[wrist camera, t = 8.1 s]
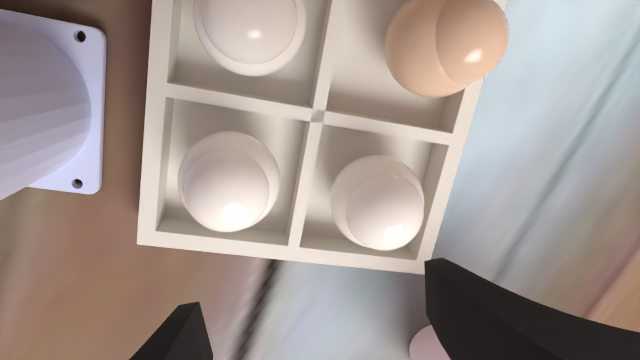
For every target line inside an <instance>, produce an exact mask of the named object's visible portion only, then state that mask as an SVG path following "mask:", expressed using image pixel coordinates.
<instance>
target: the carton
mask: <svg viewBox="0 0 640 360" xmlns="http://www.w3.org/2000/svg"><path fill="white" fill-rule="evenodd" d="M304 1H305V5H306V10H307V29H306V34H305V38H304V40H303V43H302V45H301V47H300V49H299V51H298V53H297V54H296V55H295V57H294V58H293V59H292V60H291V61H290V62H289V63H288V64H287V65H286V66H284V67H283V68H281V69H280V70H278V71H276V72H273V73H271V74H267V75H263V76H245V75H241V74H237V73H234V72H232V71H229V70H228V69H226V68H224V67H222V66H221V65H220V64H218V63H217V62H216V61H215V60H214V59H213V58H212V57H211V56H210V55H209V54H208V53H207V52H206V50H205V49H204V47H203V46H202V44H201V42H200V40H199V38H198V35H197V32H196V30H195V25H194V19H193V3H194V0H152V15H151V31H150V46H149V62H148V78H147V93H146V109H145V124H144V140H143V156H142V171H141V187H140V203H139V218H138V234H137V244H139V245H149V246H158V247H168V248H177V249H187V250H196V251H205V252H215V253H224V254H234V255H243V256H252V257H262V258H271V259H281V260H290V261H300V262H309V263H318V264H328V265H337V266H347V267H356V268H366V269H375V270H384V271H394V272H403V273H413V274H422V275H425V267H424V261H427V260H431V257H432V253H433V250H434V247H435V243H436V240H437V236H438V233H439V230H440V226H441V223H442V220H443V216H444V213H445V209H446V206H447V203H448V199H449V196H450V192H451V189H452V186H453V182H454V179H455V176H456V172H457V169H458V165H459V162H460V159H461V155H462V152H463V148H464V145H465V142H466V138H467V135H468V132H469V128H470V125H471V121H472V118H473V115H474V111H475V108H476V105H477V101H478V98H479V94H480V91H481V88H482V84H483V81H484V77H485V76H484V77H483V78H481V79H479V80H477V81H474V82H472V83H471V84H470V85H469V86H467V87H466V88H464V89H463V90H461V91H459V92H457V93H455V94H452V95H449V96H445V97H439V98H428V97H422V96H418V95H416V94H413V93H411V92H409V91H407V90H406V89H404V88H403V87H402V86H400V84H399V83H398V82H397V81H396V80H395V79H394V78H393V76H392V75H391V73H390V71H389V68H388V66H387V63H386V59H385V53H384V44H385V37H386V32H387V29H388V27H389V24H390V22H391V20H392V18H393V16H394V15H395V14H396V12H397V11H398V10H399V8H400V7H401V6H402V5H403V4H404V3H405V2H407V1H408V0H304ZM494 1H495V2H496V3H497V4H498V5H499V6H500V7H501V8H502V10H503V11H504V10H505V6H506V3H507V0H494ZM222 131H235V132H241V133H245V134H247V135H250V136H252V137H254V138H256V139H257V140H259V141H260V142H262V143H263V144H264V145H265V146H266V147H267V148H268V149H269V150H270V152H271V153H272V155H273V156H274V158H275V160H276V162H277V165H278V168H279V172H280V190H279V194H278V197H277V200H276V202H275V204H274V206H273V208H272V209H271V210H270V212H269V213H268V214H267V215H266V216H265V217H264V218H263V219H262V220H261V221H259V222H258V223H256V224H254V225H253V226H251V227H248V228H246V229H242V230H239V231H234V232H218V231H214V230H211V229H209V228H206V227H205V226H203V225H201V224H200V223H199V222H197V221H196V220H195V219H194V218H193V217H192V216H191V215H190V213H189V212H188V211H187V210H186V208H185V206H184V205H183V203H182V200H181V198H180V195H179V191H178V185H177V183H178V171H179V167H180V164H181V162H182V160H183V158H184V156H185V154H186V153H187V151H188V150H189V149H190V148H191V147H192V146H193V145H194V144H195V143H196V142H197V141H199V140H200V139H202V138H204V137H205V136H208V135H210V134H213V133H216V132H222ZM368 155H385V156H389V157H393V158H395V159H397V160H399V161H401V162H403V163H404V164H406V165H407V166H408V167H409V168H410V169H411V170H412V171H413V172H414V173H415V175H416V176H417V178H418V180H419V182H420V184H421V186H422V189H423V194H424V217H423V222H422V225H421V228H420V230H419V232H418V233H417V235H416V236H415V237H414V238H413V239H412V240H411V241H410V242H409V243H407V244H406V245H404V246H402V247H400V248H397V249H394V250H387V251H383V250H375V249H372V248H368V247H364V246H361V245H358V244H356V243H354V242H352V241H351V240H349V239H348V238H347V237H346V236H345V235H344V234H343V233H342V232H341V231H340V230H339V229H338V227H337V225H336V224H335V222H334V220H333V217H332V214H331V210H330V193H331V188H332V185H333V183H334V181H335V179H336V177H337V175H338V174H339V173H340V172H341V170H342V169H343V168H344V167H345V166H347V165H348V164H349V163H351V162H352V161H354V160H356V159H358V158H361V157H364V156H368Z"/></svg>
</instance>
